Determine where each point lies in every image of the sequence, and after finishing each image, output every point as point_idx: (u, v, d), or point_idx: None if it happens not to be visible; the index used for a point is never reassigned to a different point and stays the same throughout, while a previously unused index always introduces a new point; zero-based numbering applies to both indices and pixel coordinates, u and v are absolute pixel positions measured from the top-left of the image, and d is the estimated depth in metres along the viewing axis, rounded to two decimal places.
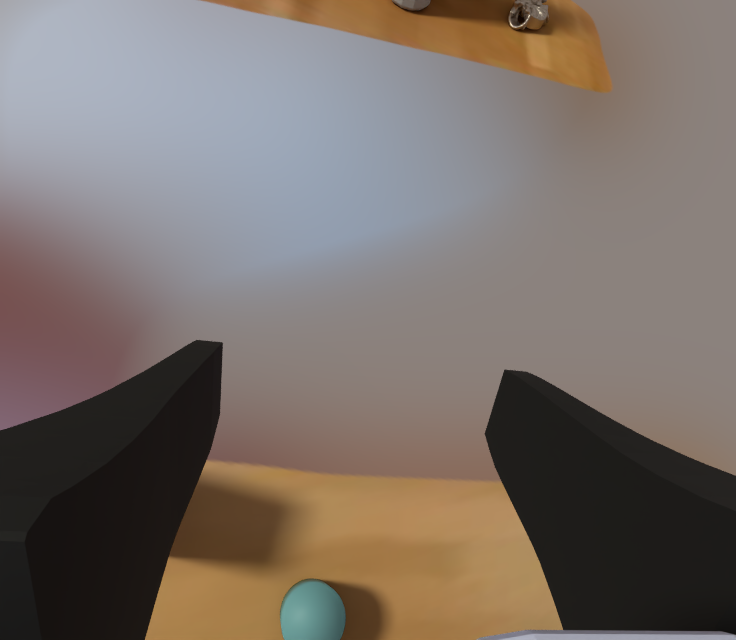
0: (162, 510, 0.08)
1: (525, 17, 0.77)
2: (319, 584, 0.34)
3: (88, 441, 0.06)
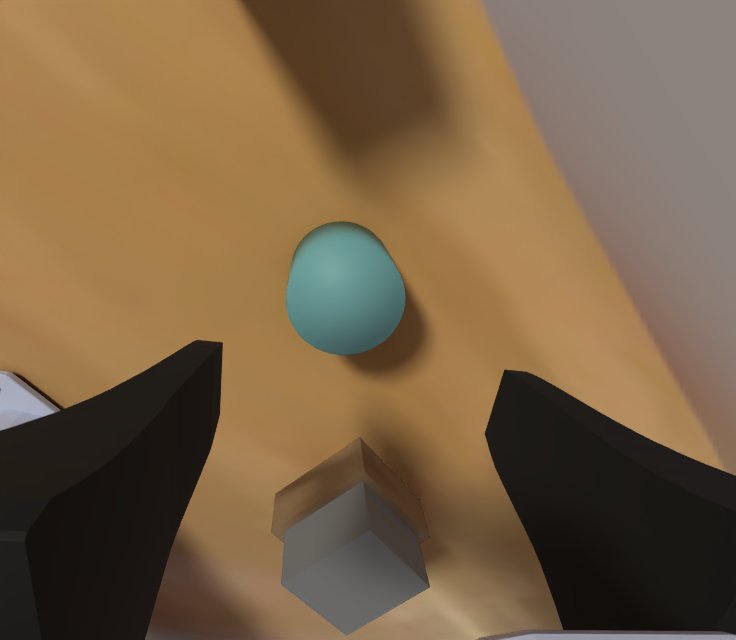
0: (162, 510, 0.08)
1: None
2: (396, 272, 0.17)
3: (88, 441, 0.06)
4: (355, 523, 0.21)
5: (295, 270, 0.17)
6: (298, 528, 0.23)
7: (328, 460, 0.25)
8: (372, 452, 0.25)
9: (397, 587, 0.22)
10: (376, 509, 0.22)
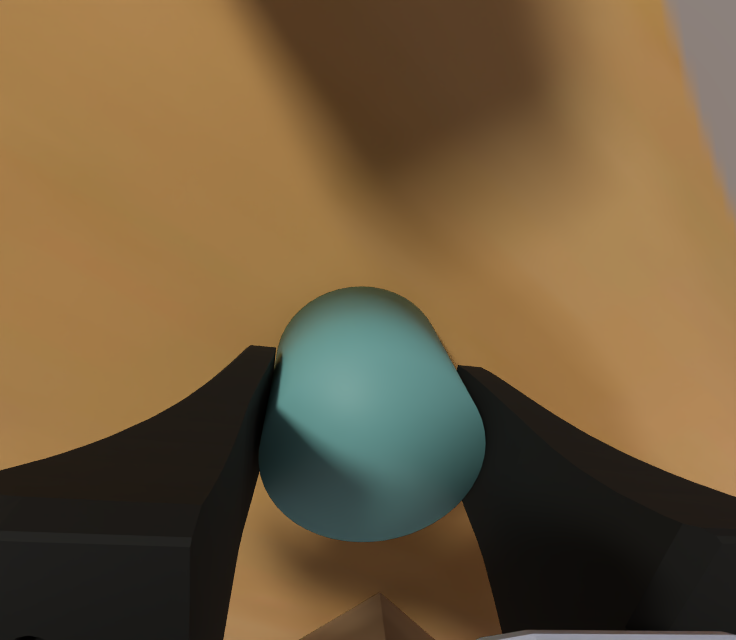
0: (238, 513, 0.08)
1: None
2: (471, 407, 0.09)
3: (193, 448, 0.06)
4: None
5: (276, 407, 0.09)
6: None
7: (332, 624, 0.17)
8: (397, 612, 0.17)
9: None
10: None
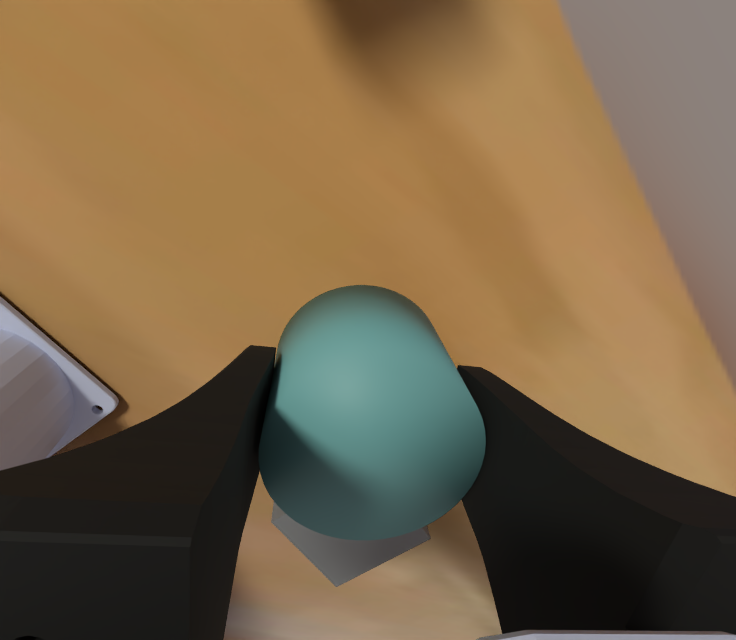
0: (238, 513, 0.08)
1: None
2: (471, 405, 0.09)
3: (193, 448, 0.06)
4: None
5: (276, 405, 0.09)
6: None
7: None
8: None
9: (396, 536, 0.20)
10: None
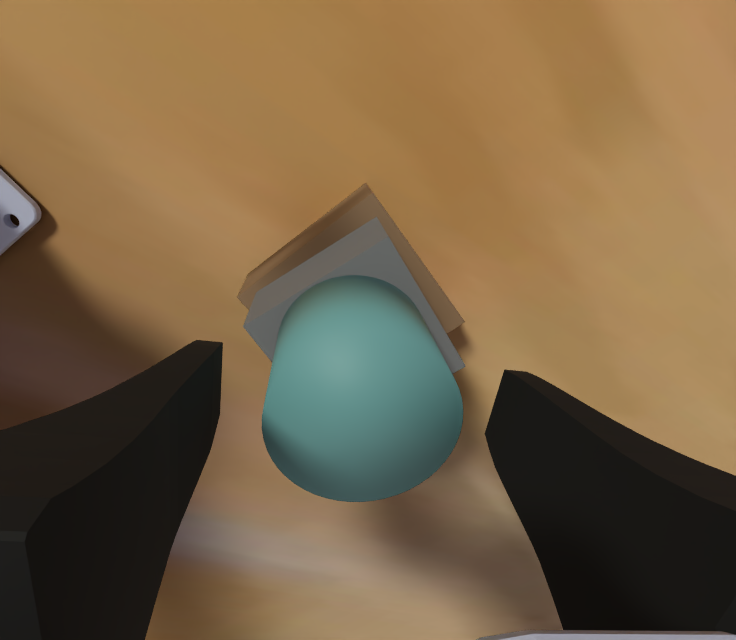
0: (162, 510, 0.08)
1: None
2: (449, 378, 0.10)
3: (88, 441, 0.06)
4: (365, 243, 0.14)
5: (277, 377, 0.10)
6: (276, 282, 0.16)
7: (321, 218, 0.18)
8: None
9: None
10: (394, 246, 0.15)
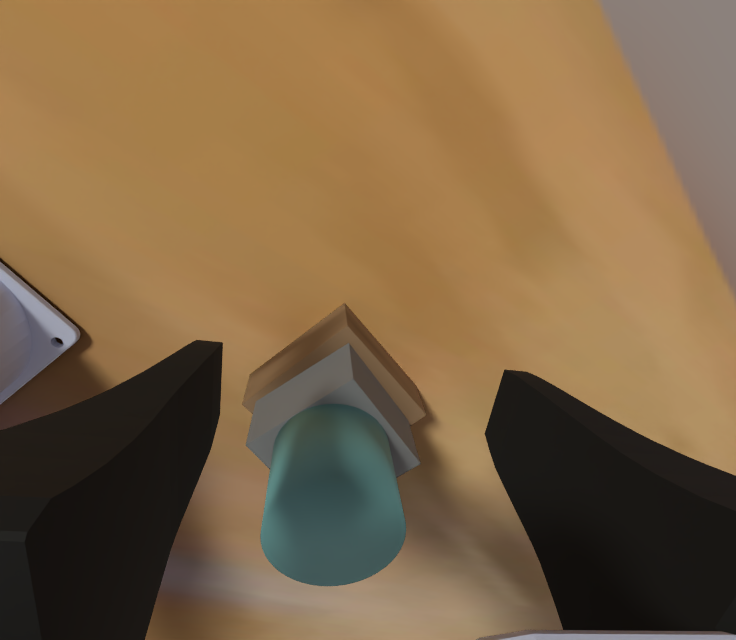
0: (162, 510, 0.08)
1: None
2: (393, 503, 0.14)
3: (88, 441, 0.06)
4: (337, 377, 0.18)
5: (270, 508, 0.14)
6: (271, 396, 0.20)
7: (308, 330, 0.22)
8: (359, 321, 0.22)
9: None
10: (362, 371, 0.19)
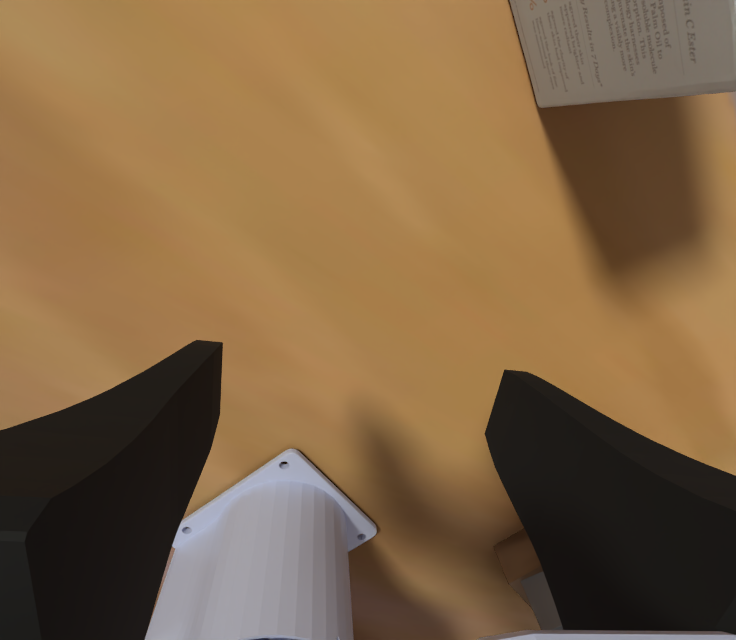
0: (162, 510, 0.08)
1: None
2: None
3: (88, 441, 0.06)
4: None
5: None
6: (537, 581, 0.27)
7: None
8: None
9: None
10: None
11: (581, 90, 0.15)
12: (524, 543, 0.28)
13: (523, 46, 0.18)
